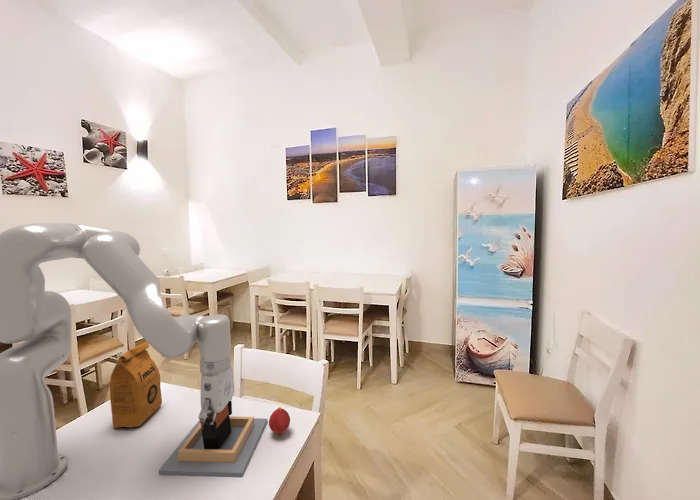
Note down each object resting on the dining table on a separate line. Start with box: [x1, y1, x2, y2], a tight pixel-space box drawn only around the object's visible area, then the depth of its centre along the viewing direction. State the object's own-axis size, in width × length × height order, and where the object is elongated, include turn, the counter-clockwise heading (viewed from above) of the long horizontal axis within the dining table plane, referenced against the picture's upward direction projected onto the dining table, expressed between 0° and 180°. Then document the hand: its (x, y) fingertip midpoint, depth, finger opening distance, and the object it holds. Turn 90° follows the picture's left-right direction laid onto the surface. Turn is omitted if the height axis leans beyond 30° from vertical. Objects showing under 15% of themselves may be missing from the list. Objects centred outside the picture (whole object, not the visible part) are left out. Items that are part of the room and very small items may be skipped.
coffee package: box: [109, 341, 163, 429], centre depth 94 cm, size 10×12×22 cm
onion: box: [268, 406, 291, 436], centre depth 87 cm, size 6×6×8 cm
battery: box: [201, 404, 231, 449], centre depth 82 cm, size 4×7×10 cm, turn 173°
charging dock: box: [158, 415, 269, 478], centre depth 83 cm, size 20×20×4 cm
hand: (218, 425), depth 82 cm, fingers open, 8 cm apart
